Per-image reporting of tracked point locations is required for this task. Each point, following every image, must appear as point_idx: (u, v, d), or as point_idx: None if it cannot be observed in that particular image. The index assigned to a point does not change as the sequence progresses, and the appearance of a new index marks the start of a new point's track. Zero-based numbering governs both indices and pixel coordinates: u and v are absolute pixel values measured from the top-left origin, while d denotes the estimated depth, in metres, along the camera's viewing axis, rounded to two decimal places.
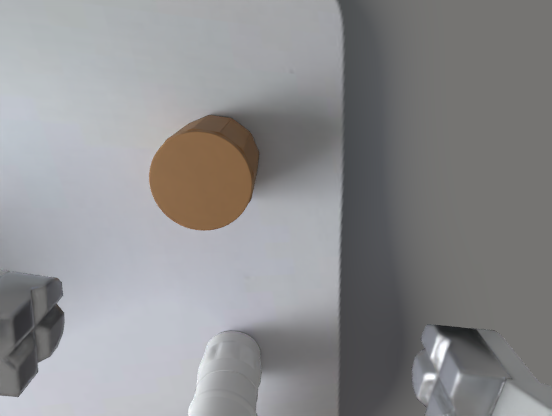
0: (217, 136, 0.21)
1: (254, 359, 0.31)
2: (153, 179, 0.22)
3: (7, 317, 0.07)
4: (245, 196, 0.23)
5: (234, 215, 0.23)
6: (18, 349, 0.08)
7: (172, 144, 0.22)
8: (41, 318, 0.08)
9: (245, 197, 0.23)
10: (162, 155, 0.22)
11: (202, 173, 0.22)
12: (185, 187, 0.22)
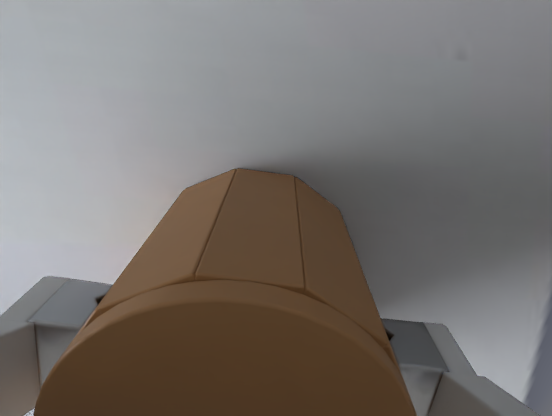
0: (302, 316, 0.05)
1: None
2: None
3: (80, 326, 0.07)
4: None
5: None
6: None
7: (113, 345, 0.05)
8: None
9: None
10: (76, 380, 0.05)
11: None
12: None
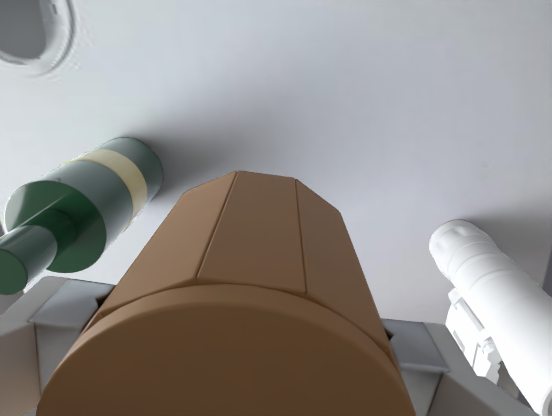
0: (303, 320, 0.05)
1: None
2: None
3: (80, 326, 0.07)
4: None
5: None
6: None
7: (115, 349, 0.05)
8: None
9: None
10: (77, 384, 0.05)
11: None
12: None
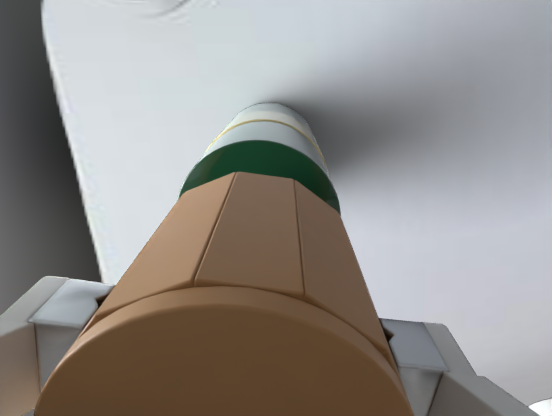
0: (301, 323, 0.05)
1: None
2: None
3: (80, 326, 0.07)
4: None
5: None
6: None
7: (112, 351, 0.05)
8: None
9: None
10: (75, 386, 0.05)
11: None
12: None
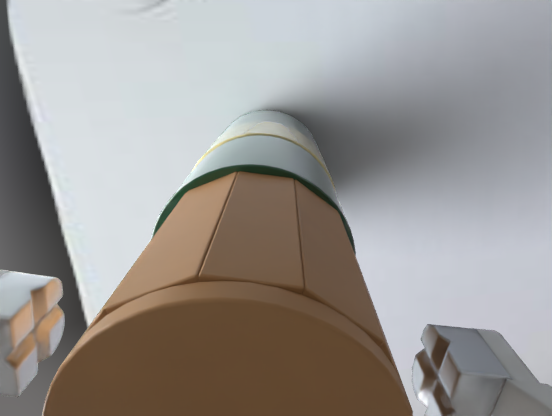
0: (301, 316, 0.05)
1: None
2: None
3: (7, 317, 0.07)
4: None
5: None
6: (18, 349, 0.08)
7: (120, 343, 0.05)
8: (41, 318, 0.08)
9: None
10: (84, 377, 0.06)
11: None
12: None
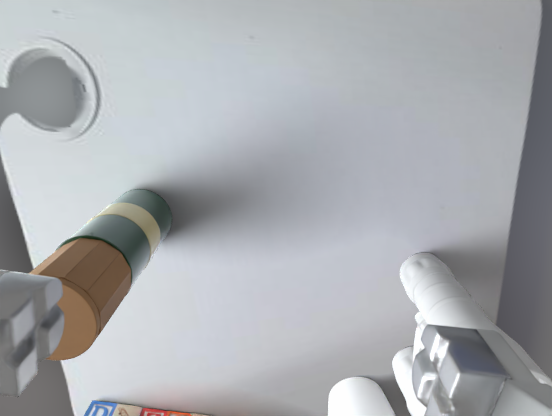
0: None
1: (450, 270, 0.41)
2: None
3: (7, 317, 0.07)
4: (91, 332, 0.25)
5: (84, 347, 0.25)
6: (18, 349, 0.08)
7: None
8: (41, 318, 0.08)
9: (92, 333, 0.25)
10: None
11: None
12: None
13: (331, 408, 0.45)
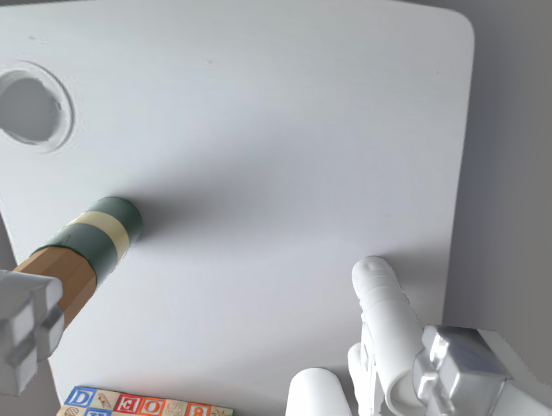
0: None
1: (394, 273, 0.45)
2: None
3: (7, 317, 0.07)
4: None
5: None
6: (18, 349, 0.08)
7: None
8: (41, 318, 0.08)
9: None
10: None
11: None
12: None
13: (290, 396, 0.50)
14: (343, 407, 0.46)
